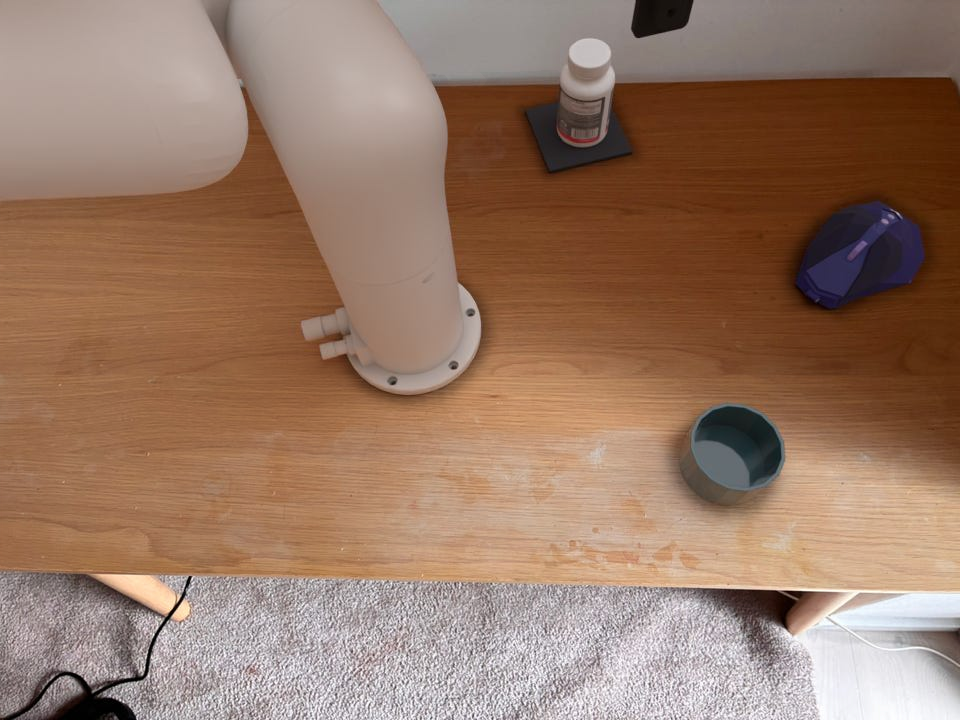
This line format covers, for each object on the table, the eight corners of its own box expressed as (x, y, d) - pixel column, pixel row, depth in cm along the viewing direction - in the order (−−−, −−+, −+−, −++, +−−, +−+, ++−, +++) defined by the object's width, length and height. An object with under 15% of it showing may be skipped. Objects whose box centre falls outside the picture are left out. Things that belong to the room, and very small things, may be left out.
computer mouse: (947, 243, 65) (972, 217, 61) (853, 340, 61) (874, 318, 57) (861, 188, 68) (880, 160, 64) (767, 277, 64) (782, 252, 60)
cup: (698, 515, 55) (712, 501, 51) (665, 435, 58) (676, 415, 54) (780, 493, 55) (801, 476, 51) (744, 414, 58) (760, 393, 54)
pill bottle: (574, 104, 74) (582, 25, 66) (617, 125, 73) (630, 46, 64) (546, 135, 73) (549, 57, 64) (588, 157, 71) (598, 81, 62)
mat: (549, 173, 71) (549, 170, 70) (524, 112, 75) (524, 109, 74) (632, 153, 71) (632, 151, 71) (603, 93, 75) (604, 91, 75)
